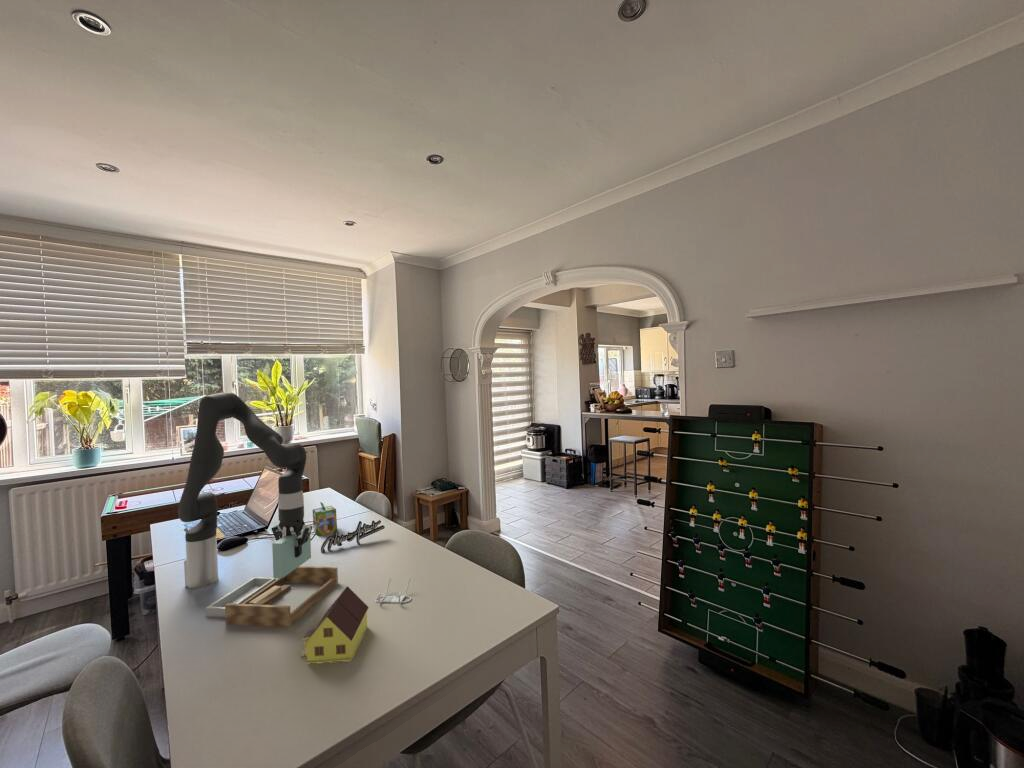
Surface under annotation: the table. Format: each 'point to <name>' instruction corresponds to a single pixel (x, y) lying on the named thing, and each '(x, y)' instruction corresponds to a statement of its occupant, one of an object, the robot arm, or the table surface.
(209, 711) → the table surface
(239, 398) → the robot arm
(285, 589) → the offcut long
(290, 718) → the table surface
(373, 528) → the nameplate
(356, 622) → the house model
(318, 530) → the juice box
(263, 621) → the brown wooden open box
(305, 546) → the mint green rectangular block
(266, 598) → the offcut short
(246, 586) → the tray
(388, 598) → the wall mount rack
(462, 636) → the table surface
